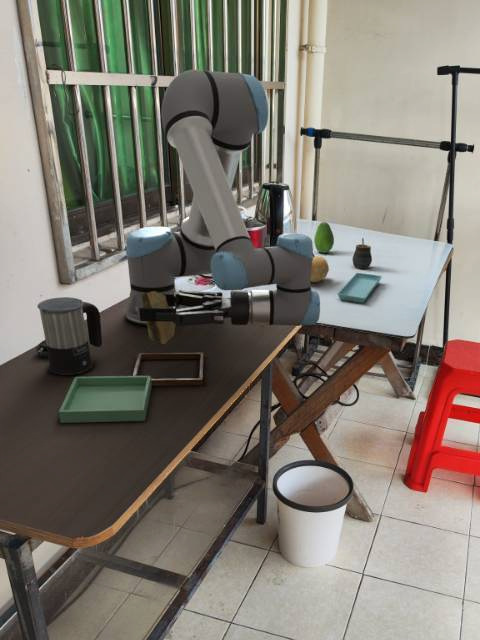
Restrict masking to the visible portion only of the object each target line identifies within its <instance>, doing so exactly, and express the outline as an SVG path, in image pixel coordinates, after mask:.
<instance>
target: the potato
mask: <svg viewBox="0 0 480 640" xmlns="http://www.w3.org/2000/svg"><path fill="white" fill-rule="evenodd" d="M329 272H330V268H329V263H328V261H327V260H326V259H325V257H322V256H319V255H318V256H313V260H312V271H311V283H319V282H321V281H322V280H324V279H326V278H327V275H328V273H329Z"/></svg>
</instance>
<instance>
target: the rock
mask: <svg viewBox="0 0 480 640" xmlns="http://www.w3.org/2000/svg"><path fill="white" fill-rule="evenodd" d="M141 298H142V304H143V308H170V307H169V306H168V304H167V301H166V296H165V295H162V294H160V293H158V292H155V291H152V292H149V293H145V294H142V295H141ZM146 327H147V331H148V335H149V336H148V337H149V339H150V340H151V341H153V342H155V343H158V344H162V345H166V344H167V342H169V341H170V340H171V339H173V337H174V335H175V331H176V330H175V328H176V327H177V326H176V323H173V322H164V321H147V326H146Z"/></svg>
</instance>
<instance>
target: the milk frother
mask: <svg viewBox="0 0 480 640" xmlns="http://www.w3.org/2000/svg"><path fill="white" fill-rule="evenodd" d="M37 309H38V310H39V313H40V318H41V319H40V320H41V324H42V329H43V335H44V339H43V340H42V341H40V343H38V344H37V346H36V354H38V356H40V357H43V358H46V359H47V358H48V362H49V366H48V370H49V372H51V373H52V374H55V375H58V376H75V375H80V374H83V373H85V372H88V371H89V370H91V369H92V368H93V367H94V362H93V360H92V356H91V351H90V347H89V344H90V345H91V346H93V347H95V348H100V347H101V346H102V344H103V337H102V335H103V334H102V322H101V312H100V310H99V309H98V307H97V306H96V305H94V304H92V303H91V302H88V301H83V300H82V299H80V298H76V297H71V296H69V297H66V296H63V297H52V298H47V299H45V300H42V301H40V302H38V304H37ZM84 314H85V315H86V316H84ZM85 317H86V322H85ZM86 327H87V328H86ZM87 333H88V334H87Z"/></svg>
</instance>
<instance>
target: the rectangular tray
mask: <svg viewBox="0 0 480 640" xmlns="http://www.w3.org/2000/svg"><path fill="white" fill-rule="evenodd" d="M382 277H383V276H382V275H377V274H370V273H364V272H363V273H362V272H356V273H354V275H353V276H352V277H351V278H350V280H349V281H347V283H346V284H345V285H343V287H342V288H340V290H339V291H338V292H337V296H338V298H339V299H340V301H347V302H353V303H360V304H363V303H364V302H365V301H366V300H367V298H368V297H369V296H370V294H371V293H372V292H373V290H374V289H375V288H376V286H377V285H378V284H379V282H380V281H381V279H382Z"/></svg>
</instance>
